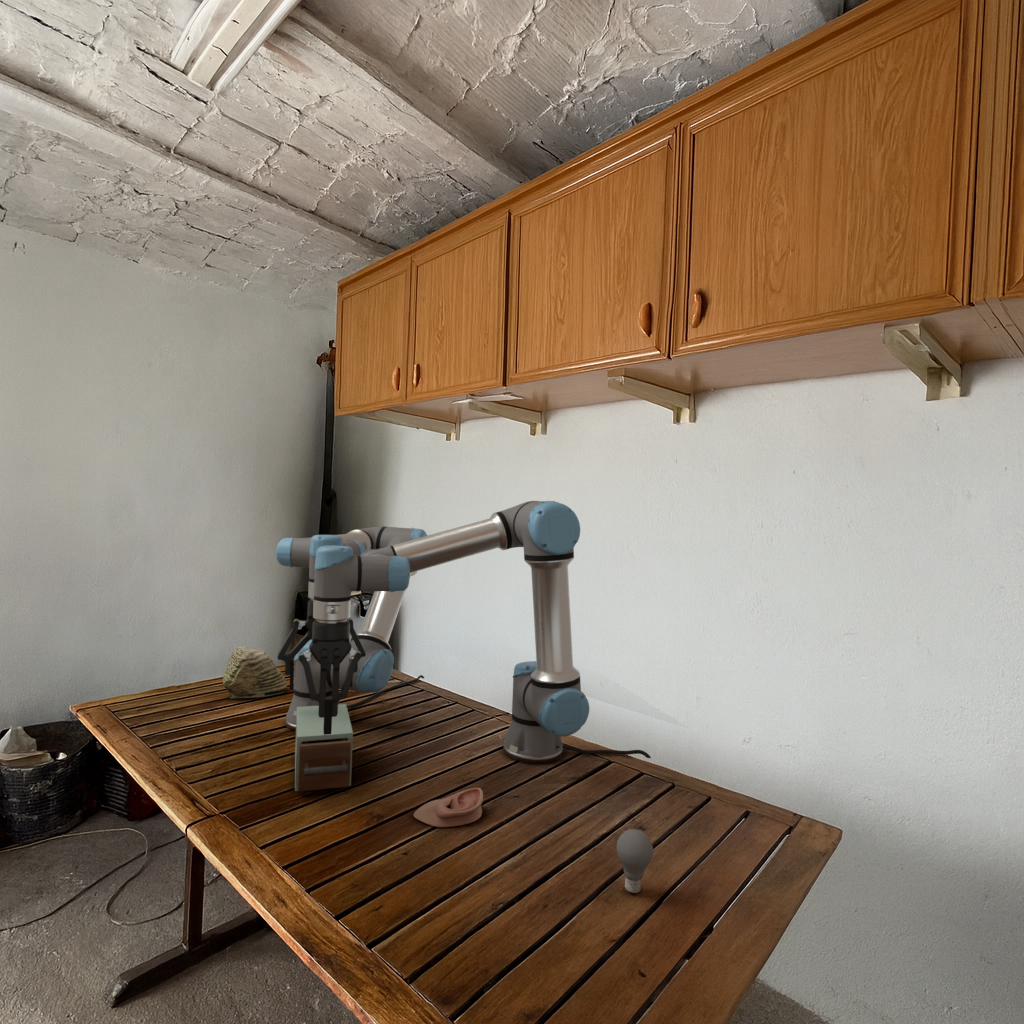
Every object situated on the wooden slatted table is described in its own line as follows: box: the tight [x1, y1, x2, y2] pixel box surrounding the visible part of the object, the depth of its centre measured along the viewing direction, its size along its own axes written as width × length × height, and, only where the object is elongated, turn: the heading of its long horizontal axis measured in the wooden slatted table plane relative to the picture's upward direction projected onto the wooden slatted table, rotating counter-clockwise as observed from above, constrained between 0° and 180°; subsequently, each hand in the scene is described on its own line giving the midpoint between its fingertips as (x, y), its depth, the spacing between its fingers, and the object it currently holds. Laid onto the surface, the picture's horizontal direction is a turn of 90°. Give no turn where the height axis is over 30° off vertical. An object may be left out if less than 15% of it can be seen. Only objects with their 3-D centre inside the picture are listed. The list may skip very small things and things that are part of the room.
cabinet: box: [294, 703, 354, 792], centre depth 147 cm, size 20×12×12 cm, turn 19°
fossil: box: [222, 646, 288, 699], centre depth 198 cm, size 9×18×15 cm, turn 132°
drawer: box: [297, 738, 351, 793], centre depth 141 cm, size 24×10×10 cm, turn 19°
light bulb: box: [615, 828, 654, 894], centre depth 106 cm, size 6×6×10 cm
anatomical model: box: [413, 787, 484, 828], centre depth 129 cm, size 13×4×12 cm
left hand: (321, 687), depth 153 cm, fingers open, 13 cm apart
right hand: (327, 731), depth 133 cm, fingers closed
